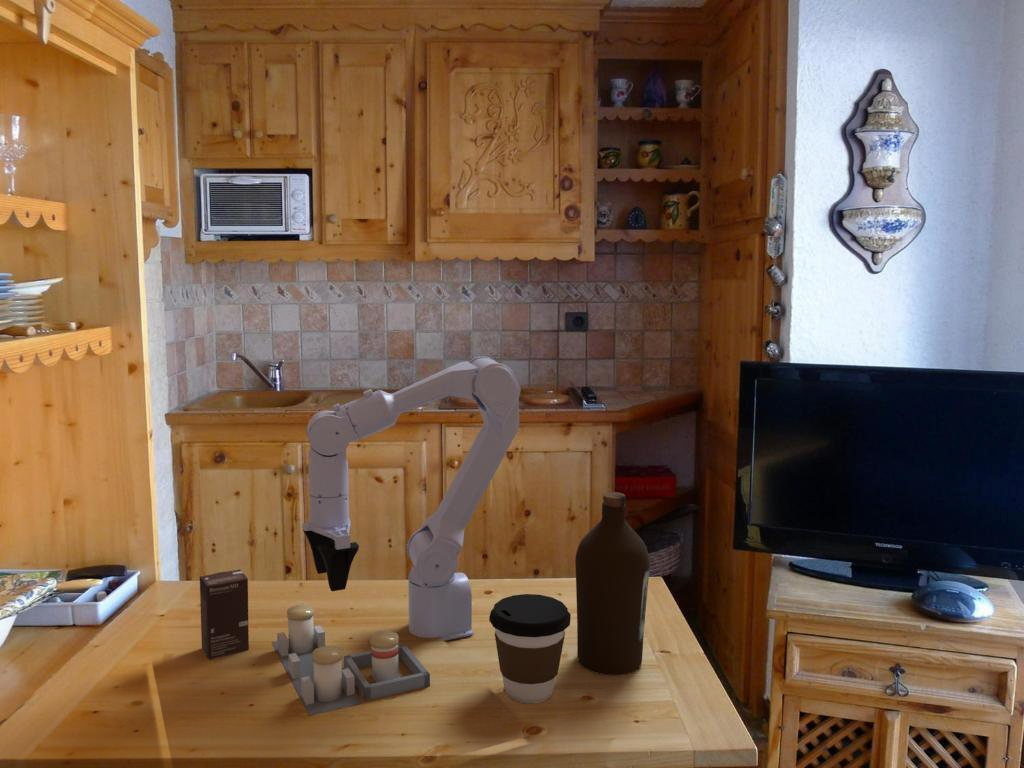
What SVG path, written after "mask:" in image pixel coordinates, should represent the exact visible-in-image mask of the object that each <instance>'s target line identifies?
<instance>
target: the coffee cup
mask: <svg viewBox="0 0 1024 768" xmlns="http://www.w3.org/2000/svg"><path fill="white" fill-rule="evenodd" d="M571 614H572V613H570V612H569V608H568V607H567V605H565V604H564V603H563V602H562V601H561V600H559V599H556V598H555V597H552V596H549V595H548V596H547V595H543V594H531V593H524V594H515V595H509V596H507V597H504V598H502V599H500V600H499V601H497V602H496V603H494V605H493V607H492V609H491V611H490V614H489V619H488V620H489V622H490V624H491V626H492V627H493V628H494V629H495V630H494V638H495V645H496V652H497V657H498V658H497V659H498V665H499V671H500V672H501V675H502V681H503V682H502V683H503V688H504V690H505V692H506V694H507V695H508V698H510V699H512V700H513V701H515V702H518V703H520V704H530V705H531V704H539V703H542V702H544V701H547V700H548V699H549V698H550V697H551V695H552V694H553V692H554V689H555V683H556V678H557V676H558V674H559V669H560V664H561V663H560V662H561V657H562V652H563V646H564V642H565V641H564V640H565V635H566V631H565V630H566V629H568V627H570V626H571V620H572V619H571Z"/></svg>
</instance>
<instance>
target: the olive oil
mask: <svg viewBox="0 0 1024 768" xmlns="http://www.w3.org/2000/svg"><path fill="white" fill-rule="evenodd" d="M602 494H603V495H602V500H603V501H602V503H601V519H600V521H599V522H597V524H596V525H595V526H594V527H593V528H591V530H589V531H588V532H587V533H586V534H585V536H583V537H582V538H581V540H580V542H579V544H578V547H577V549H576V553H575V557H574V559H575V563H574V564H575V590H576V591H575V592H576V595H575V596H576V623H577V625H576V629H577V630H576V633H577V634H576V635H577V636H576V637H577V640H576V641H577V643H576V644H577V649H576V650H577V651H576V652H577V653H576V654H577V661H578V663H579V665H581V667H583V668H585V669H586V670H588V671H590V672H593V673H597V674H601V675H607V676H620V675H626V674H630V673H633V672H635V671H636V670H638V669H640V667H641V665H642V662H643V651H644V636H645V625H646V622H645V621H646V611H647V600H648V589H649V587H648V586H649V577H650V570H651V569H650V568H651V567H650V566H651V565H650V564H651V563H650V562H651V561H650V555H649V551H648V548H647V545H646V543H645V541H644V540H643V539H642V538H641V536H640V535H638V533H637V532H636V531H635V530H634V529H633V528H632V527H631V526H630V525H629V523H628V522H627V520H626V511H627V510H626V509H627V508H626V507H627V504H626V495H625V494H624V493H621V492H616V491H610V492H609V491H608V492H605V493H602Z"/></svg>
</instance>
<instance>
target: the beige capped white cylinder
mask: <svg viewBox="0 0 1024 768" xmlns="http://www.w3.org/2000/svg"><path fill="white" fill-rule="evenodd" d="M314 615H315V611H314V607H313V606H312V605H309V604H297V605H293V606H291V607H288V608H287V609H286V617H287V633H288V636H287V638H288V639H289V651H290V652H291V653H296V654H305V653H308V652H310V651H312V650H313V649H314Z"/></svg>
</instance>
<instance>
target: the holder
mask: <svg viewBox="0 0 1024 768" xmlns="http://www.w3.org/2000/svg"><path fill="white" fill-rule="evenodd" d="M313 629H314V649H313V650H312V651H310V652H308V653H305V654H296V653H291V652H290V651H289V638H288V636H287V635H286V633H285V631H281V632H277V633H276V639H277V640H276V641H271V644H272V646H273V648H274V651H275V652H276V654H277V656H278V658H279V659H280V661H281V663H282V665H283V668H284V669H285V671H286V673H287V675H288V677H289V679H290V682H291V683H292V685H293V687H294V689H295V691H296V692H297V695H298V697H299V698H300V700H301V703H302V705H303V706H304V709H305V710H306V712H307V714H308V716H310V717H311V716H315V715H319V714H322V713H328V712H331V711H336V710H341V709H345V708H349V707H354V706H357V705H358V706H359V705H362V704H363V703H364V702H363V701H362V699H361V698H360V696H359V694H358V693H357V692H356V690H355V689H356V688H355V687H356V685H355V684H354V675H353V674H352V672H351V671H350V669H349V668H346V669H344V668H343V669H342V696H341V697H340V698H339V699H337V700H334V701H330V702H321V701H318V700H316V699H315V698H314V667H313V658H312V653H313V651H314V650H315V649H317V648H319V647H322V646H327V644H326V632H325V630H324V628H323V627H322V625H320V624H318V625H313ZM332 646H335V645H332Z"/></svg>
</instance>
